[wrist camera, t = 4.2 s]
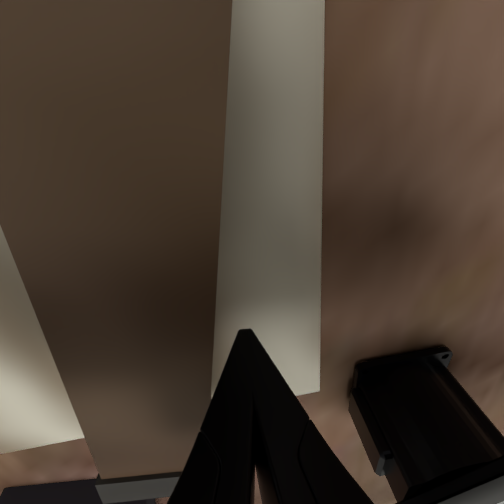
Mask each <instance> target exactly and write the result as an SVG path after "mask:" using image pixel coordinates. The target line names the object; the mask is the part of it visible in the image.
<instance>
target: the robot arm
mask: <svg viewBox="0 0 504 504" xmlns="http://www.w3.org/2000/svg"><path fill="white" fill-rule="evenodd" d="M452 355H453V353H452V352H451V351H450V350H449V348H448V347H439V348H434V349H428V350H423V351H418V352H413V353H408V354H403V355H397V356H392V357H387V358H382V359H377V360H372V361H367V362H362V363H360V364H358V365H357V366H356V367H355V374H354V382H353V388H352V390H351V393H350V401H349V413H350V415H351V417H352V420H353V422H354V424H355V427H356V429H357V432H358V434H359V436H360V439H361V441H362V443H363V446H364V448H365V451H366V453H367V455H368V458H369V460H370V462H371V465H372V467H373V470H374V472H375V473H376V474H377V475H379V476H383V475H385V476H386V478H387V480H388V483H389V485H390V487H391V489H392V491H393V494H394V496H395V498H396V500H397V503H395V504H497V503H499V502H502V501H504V436H503V435H502V434H501V433H500V432H499V430H498V429H497V428H496V427H495V426H494V424H493V423H492V422H491V421H490V420H489V418H488V417H487V416H486V415H485V414H484V412H483V411H482V410H481V409H480V408H479V406H478V405H477V404H476V403H475V402H474V400H473V399H472V398H471V397H470V396H469V394H468V393H467V392H466V391H465V390H464V388H463V387H462V386H461V385H460V384H459V382H458V381H457V380H456V379H455V378H454V376H453V375H452V374H451V373H450V372H449V370H448V369H447V367H448V364H449V362H450V360H451V357H452ZM255 467H256V472H257V478H258V483H259V489H260V494H261V499H262V504H374V503H373V502H372V501H371V499H370V498H369V497H368V496H367V495H366V493H365V492H364V491H363V490H362V488H361V487H360V486H359V485H358V483H357V482H356V481H355V480H354V478H353V477H352V476H351V475H350V474H349V472H348V471H347V470H346V468H345V467H344V466H343V464H342V463H341V462H340V461H339V459H338V458H337V457H336V455H335V454H334V453H333V451H332V450H331V449H330V447H329V446H328V444H327V443H326V441H325V440H324V438H323V437H322V436H321V434H320V433H319V431H318V430H317V428H316V427H315V425H314V423H313V422H312V420H309V416H308V414H307V413H306V411H305V410H304V408H303V407H302V405H301V404H300V402H299V401H298V399H297V398H296V396H295V394H294V393H293V391H292V390H291V388H290V387H289V385H288V384H287V382H286V381H285V379H284V378H283V376H282V375H281V373H280V371H279V370H278V368H277V367H276V365H275V364H274V362H273V361H272V359H271V358H270V356H269V355H268V353H267V351H266V350H265V348H264V347H263V345H262V344H261V342H260V341H259V339H258V338H257V336H256V335H255V333H254V332H253V330H252V329H250V328H249V329H239V330H238V332H237V335H236V337H235V340H234V342H233V345H232V348H231V350H230V353H229V355H228V358H227V361H226V363H225V366H224V368H223V371H222V373H221V376H220V379H219V381H218V384H217V386H216V389H215V391H214V394H213V397H212V399H211V402H210V404H209V407H208V409H207V412H206V415H205V417H204V420H203V422H202V425H201V427H200V432H198V435H197V437H196V440H195V442H194V445H193V448H192V450H191V452H190V455H189V457H188V459H187V462H186V464H185V467H184V469H183V471H182V473H181V475H180V477H179V479H178V481H177V484H176V486H175V488H174V490H173V492H172V494H171V496H170V498H169V500H168V502H167V504H254V490H255Z"/></svg>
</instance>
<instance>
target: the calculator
mask: <svg viewBox="0 0 504 504" xmlns="http://www.w3.org/2000/svg"><path fill="white" fill-rule="evenodd" d="M96 480H97V479H89V480H79V481H69V482H59V483H48V484H38V485H28V486H18V487H9V488H5V489H4V490H3V492H2V494H1V496H0V504H103V503H102V501H101V498H100V496H99V494H98V491H97V489H96V487H95V483H96ZM109 504H156V503H155V498H153V499H144V500H135V501H126V502H117V503H109Z"/></svg>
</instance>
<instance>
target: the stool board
mask: <svg viewBox="0 0 504 504" xmlns="http://www.w3.org/2000/svg"><path fill="white" fill-rule="evenodd" d="M324 13H325V0H232V18H231V36H230V54H229V73H228V91H227V109H226V128H225V146H224V164H223V182H222V201H221V219H220V237H219V256H218V274H217V292H216V310H215V329H214V347H213V365H212V383H211V399H212V397H213V394H214V391H215V389H216V386H217V384H218V381H219V379H220V376H221V373H222V371H223V368H224V366H225V363H226V361H227V358H228V355H229V353H230V350H231V348H232V345H233V342H234V340H235V337H236V335H237V332H238V330H239V329H249V328H250V329H252V330H253V332H254V333H255V335H256V336H257V338H258V339H259V341H260V342H261V344H262V345H263V347H264V348H265V350H266V351H267V353H268V355H269V356H270V358H271V359H272V361H273V362H274V364H275V365H276V367H277V368H278V370H279V371H280V373H281V375H282V376H283V378H284V379H285V381H286V382H287V384H288V385H289V387H290V388H291V390H292V391H293V393H294V394H295V396H298V395H303V394H308V393H313V392H318V391H320V324H321V247H322V169H323V91H324ZM80 438H85V437H84V435H83V432H82V430H81V427H80V424H79V422H78V419H77V417H76V414H75V412H74V409H73V407H72V404H71V402H70V399H69V397H68V394H67V392H66V389H65V387H64V384H63V382H62V379H61V377H60V374H59V372H58V369H57V367H56V364H55V362H54V359H53V357H52V354H51V352H50V349H49V347H48V344H47V342H46V339H45V336H44V334H43V331H42V329H41V326H40V324H39V321H38V319H37V316H36V314H35V311H34V309H33V306H32V304H31V301H30V299H29V296H28V294H27V291H26V289H25V286H24V284H23V281H22V279H21V276H20V274H19V271H18V269H17V266H16V264H15V261H14V259H13V256H12V254H11V251H10V248H9V246H8V243H7V241H6V238H5V236H4V233H3V231H2V228H1V226H0V454H3V453H8V452H14V451H19V450H24V449H29V448H34V447H39V446H44V445H49V444H54V443H59V442H64V441H69V440H74V439H80Z"/></svg>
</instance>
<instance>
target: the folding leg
mask: <svg viewBox="0 0 504 504" xmlns="http://www.w3.org/2000/svg"><path fill="white" fill-rule="evenodd" d="M231 18H232V0H0V226H1V228H2V231H3V233H4V236H5V238H6V241H7V243H8V246H9V248H10V251H11V254H12V256H13V259H14V261H15V264H16V266H17V269H18V271H19V274H20V276H21V279H22V281H23V284H24V286H25V289H26V291H27V294H28V296H29V299H30V301H31V304H32V306H33V309H34V311H35V314H36V316H37V319H38V321H39V324H40V326H41V329H42V331H43V334H44V336H45V339H46V342H47V344H48V347H49V349H50V352H51V354H52V357H53V359H54V362H55V364H56V367H57V369H58V372H59V374H60V377H61V379H62V382H63V384H64V387H65V389H66V392H67V394H68V397H69V399H70V402H71V404H72V407H73V409H74V412H75V414H76V417H77V419H78V422H79V424H80V427H81V430H82V432H83V435H84V437H85V440H86V442H87V445H88V447H89V450H90V452H91V455H92V457H93V460H94V462H95V465H96V467H97V470H98V472H99V473H98V477H97V480H96V483H95V487H96V489H97V491H98V494H99V496H100V498H101V501H102V503H103V504H109V503H117V502H126V501H135V500H144V499H153V498H161V497H170V496H171V494H172V492H173V490H174V488H175V486H176V484H177V481H178V479H179V477H180V475H181V473H182V471H183V469H184V467H185V464H186V462H187V459H188V457H189V455H190V452H191V450H192V448H193V445H194V442H195V440H196V437H197V435H198V432H200V427H201V425H202V422H203V420H204V417H205V415H206V412H207V409H208V407H209V404H210V402H211V383H212V365H213V347H214V329H215V310H216V292H217V274H218V256H219V237H220V219H221V201H222V182H223V164H224V146H225V128H226V109H227V91H228V73H229V54H230V36H231Z"/></svg>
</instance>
